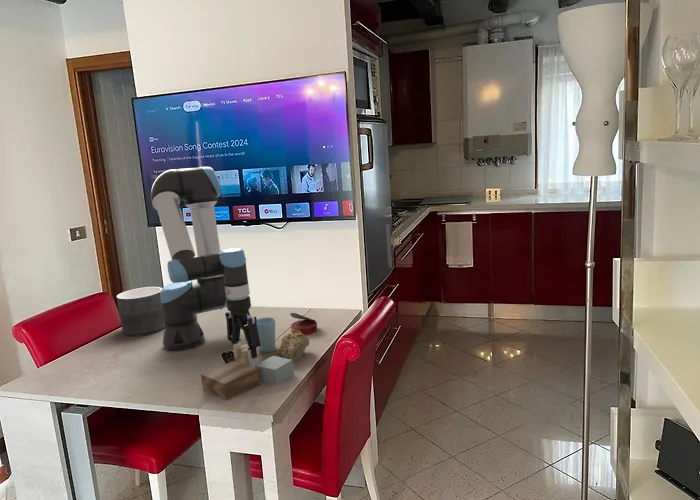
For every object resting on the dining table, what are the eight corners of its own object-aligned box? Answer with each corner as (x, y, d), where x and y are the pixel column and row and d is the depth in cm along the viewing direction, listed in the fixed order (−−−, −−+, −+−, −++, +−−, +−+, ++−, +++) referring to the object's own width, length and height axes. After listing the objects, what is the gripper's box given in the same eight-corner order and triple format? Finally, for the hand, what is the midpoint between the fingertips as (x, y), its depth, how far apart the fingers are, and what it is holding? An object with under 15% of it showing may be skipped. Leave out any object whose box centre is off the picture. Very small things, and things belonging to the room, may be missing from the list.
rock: (296, 374, 176) (292, 355, 170) (273, 368, 179) (268, 348, 172) (311, 348, 184) (307, 329, 178) (288, 342, 187) (284, 323, 181)
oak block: (235, 366, 175) (233, 349, 174) (247, 361, 179) (245, 344, 177) (244, 369, 172) (242, 352, 170) (257, 364, 175) (255, 346, 174)
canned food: (293, 342, 206) (286, 317, 208) (318, 335, 208) (311, 311, 211) (295, 338, 195) (288, 312, 198) (321, 330, 198) (314, 305, 200)
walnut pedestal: (203, 390, 159) (200, 374, 158) (236, 375, 167) (234, 360, 166) (226, 400, 151) (224, 383, 150) (260, 384, 159) (258, 368, 158)
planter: (114, 332, 222) (108, 295, 219) (154, 319, 235) (148, 285, 232) (136, 339, 210) (129, 301, 207) (176, 325, 223) (170, 289, 220)
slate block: (257, 380, 163) (255, 365, 162) (274, 370, 169) (272, 355, 168) (276, 385, 158) (275, 369, 157) (294, 374, 165) (292, 359, 164)
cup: (281, 349, 186) (277, 321, 184) (259, 355, 183) (256, 326, 181) (275, 343, 193) (271, 316, 191) (254, 348, 190) (250, 320, 188)
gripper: (210, 296, 174) (219, 361, 179) (247, 304, 161) (256, 375, 166) (229, 290, 180) (237, 354, 184) (266, 297, 167) (275, 366, 171)
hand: (246, 364), depth 175 cm, fingers open, 7 cm apart
